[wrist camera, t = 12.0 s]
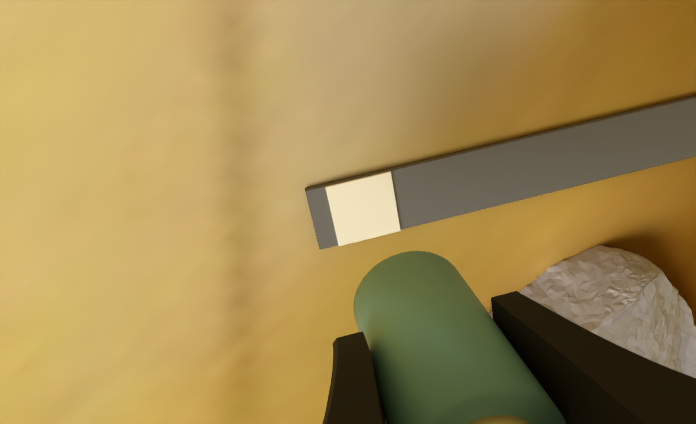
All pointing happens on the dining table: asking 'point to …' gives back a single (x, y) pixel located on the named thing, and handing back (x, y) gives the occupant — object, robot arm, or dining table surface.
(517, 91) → the dining table surface
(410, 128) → the dining table surface
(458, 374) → the teal cylinder cream end
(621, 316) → the stone block
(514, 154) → the bar
